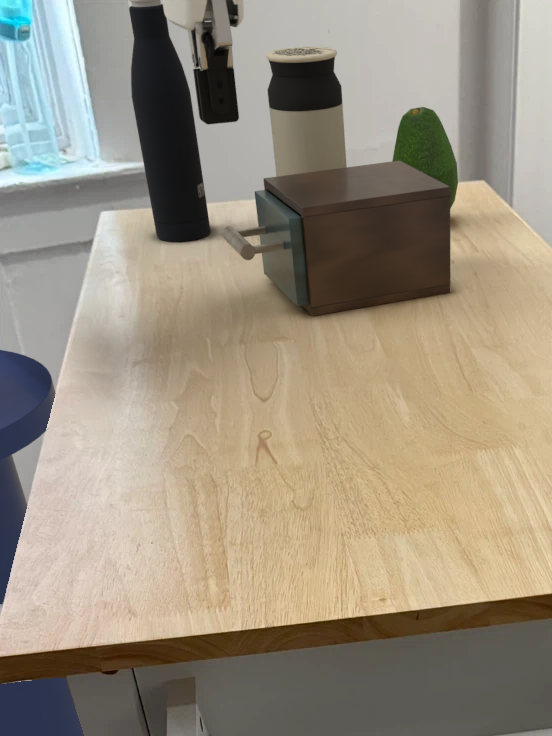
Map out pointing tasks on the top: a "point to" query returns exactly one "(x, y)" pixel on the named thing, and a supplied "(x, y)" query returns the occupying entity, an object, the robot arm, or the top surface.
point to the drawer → (276, 245)
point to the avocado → (427, 147)
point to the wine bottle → (166, 128)
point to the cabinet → (370, 234)
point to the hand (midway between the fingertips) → (219, 121)
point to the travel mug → (306, 110)
